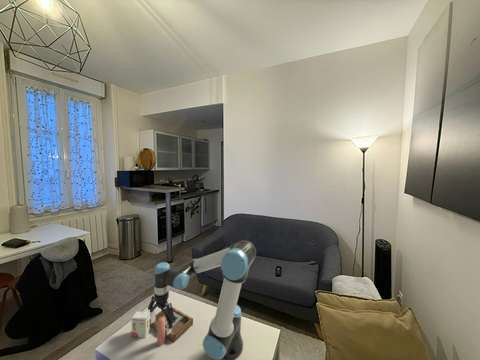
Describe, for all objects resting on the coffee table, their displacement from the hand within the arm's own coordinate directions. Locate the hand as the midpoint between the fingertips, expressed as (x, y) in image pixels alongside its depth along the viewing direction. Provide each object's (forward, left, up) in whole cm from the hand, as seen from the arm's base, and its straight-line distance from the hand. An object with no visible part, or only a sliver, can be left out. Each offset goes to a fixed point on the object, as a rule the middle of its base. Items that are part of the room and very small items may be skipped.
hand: (160, 327), depth 111 cm
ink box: (+15, +2, -9) cm, 17 cm away
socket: (+5, -12, -9) cm, 15 cm away
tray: (+5, -12, -9) cm, 15 cm away
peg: (0, 0, -9) cm, 9 cm away
